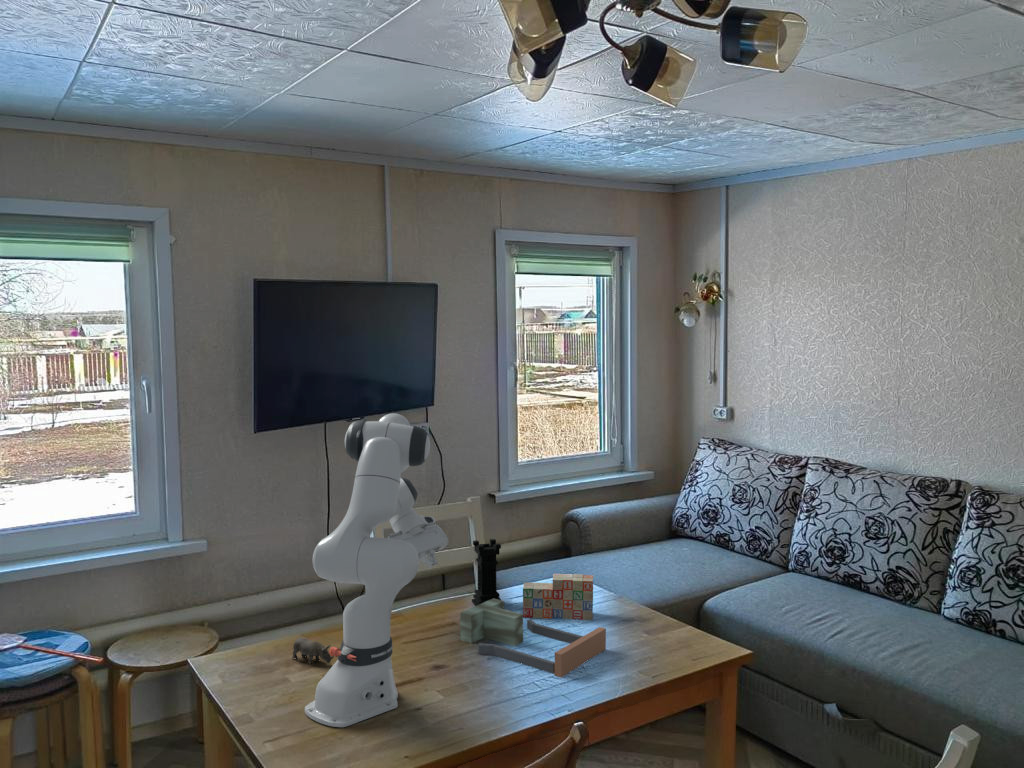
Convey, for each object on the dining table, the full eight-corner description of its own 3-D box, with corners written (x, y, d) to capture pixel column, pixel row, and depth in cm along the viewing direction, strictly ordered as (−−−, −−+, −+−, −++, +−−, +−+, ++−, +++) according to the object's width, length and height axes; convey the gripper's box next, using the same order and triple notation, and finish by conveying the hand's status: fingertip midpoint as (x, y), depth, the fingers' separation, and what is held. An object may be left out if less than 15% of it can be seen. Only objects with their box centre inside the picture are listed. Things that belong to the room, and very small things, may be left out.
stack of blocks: (522, 618, 251) (522, 578, 250) (524, 610, 257) (524, 572, 256) (593, 620, 249) (593, 580, 248) (593, 613, 255) (593, 574, 254)
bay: (558, 679, 208) (558, 656, 207) (476, 653, 224) (476, 632, 224) (607, 648, 227) (607, 627, 227) (529, 627, 243) (529, 607, 243)
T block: (502, 652, 224) (502, 624, 224) (460, 640, 234) (460, 612, 233) (534, 636, 236) (534, 608, 236) (493, 624, 245) (493, 598, 245)
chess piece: (471, 601, 266) (471, 540, 264) (495, 599, 268) (495, 538, 266) (478, 609, 258) (477, 547, 256) (502, 607, 260) (502, 544, 259)
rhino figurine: (328, 670, 214) (327, 647, 213) (289, 659, 220) (288, 638, 220) (339, 664, 217) (338, 642, 217) (300, 654, 224) (299, 632, 224)
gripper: (390, 529, 244) (414, 568, 239) (437, 516, 260) (461, 551, 255) (380, 542, 247) (404, 580, 242) (426, 527, 263) (450, 563, 258)
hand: (433, 565), depth 249 cm, fingers closed
